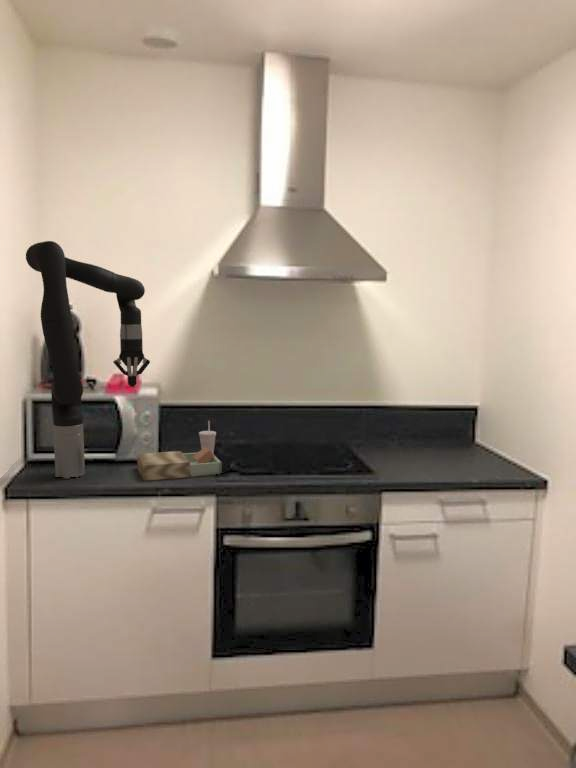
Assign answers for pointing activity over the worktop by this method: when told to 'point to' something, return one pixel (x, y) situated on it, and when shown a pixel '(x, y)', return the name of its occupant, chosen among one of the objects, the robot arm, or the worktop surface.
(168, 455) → the chevron patterned box
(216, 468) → the box
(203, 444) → the smoothie
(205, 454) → the orange brown lump
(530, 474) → the worktop surface
